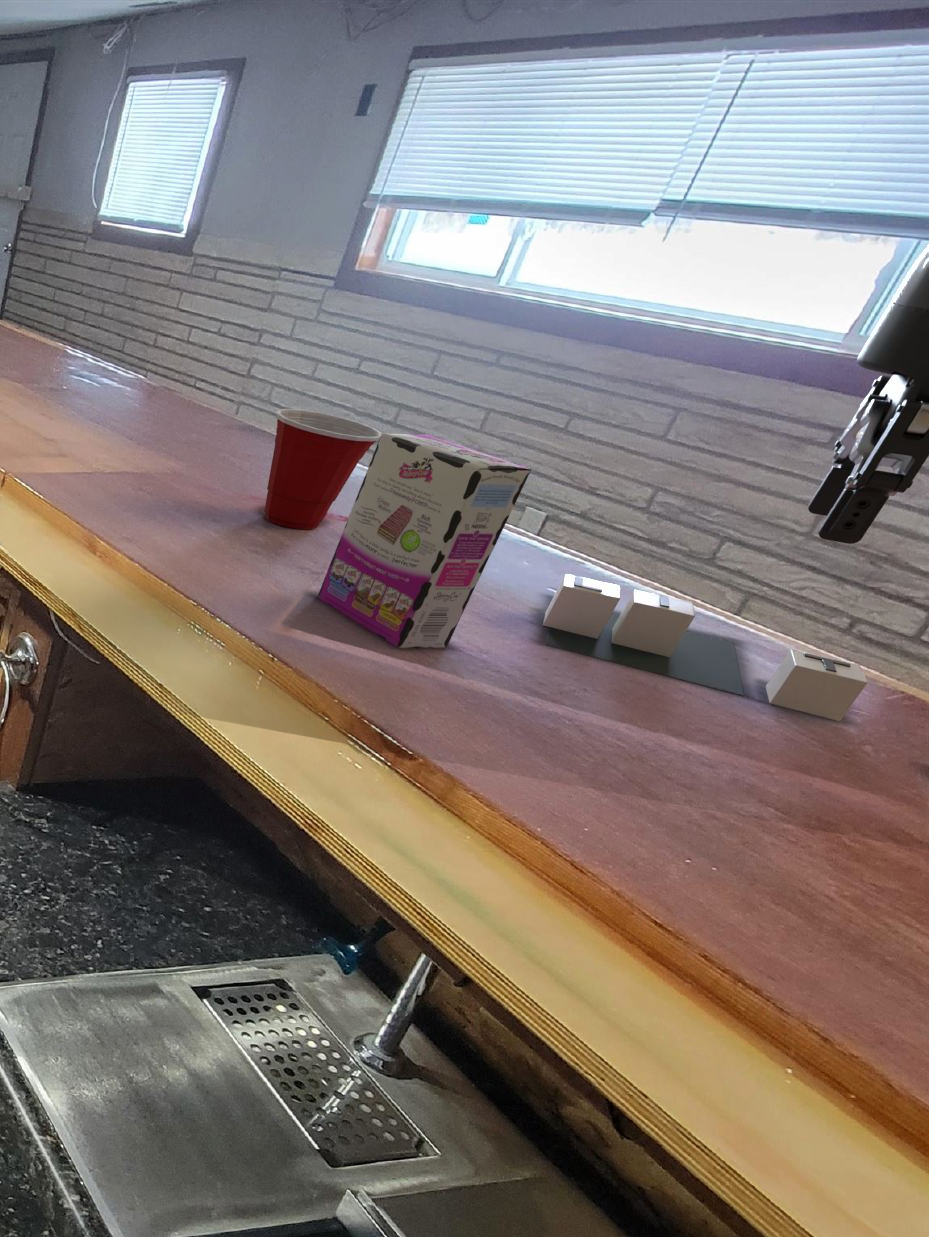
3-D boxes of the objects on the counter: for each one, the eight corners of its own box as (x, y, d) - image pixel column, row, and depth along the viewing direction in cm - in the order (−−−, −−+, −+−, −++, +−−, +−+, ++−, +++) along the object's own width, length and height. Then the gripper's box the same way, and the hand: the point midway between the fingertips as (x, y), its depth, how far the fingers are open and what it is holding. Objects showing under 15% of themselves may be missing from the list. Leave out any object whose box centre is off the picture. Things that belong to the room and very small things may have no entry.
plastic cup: (355, 543, 109) (398, 436, 103) (249, 529, 112) (285, 424, 106) (333, 514, 118) (372, 414, 112) (236, 501, 121) (268, 403, 115)
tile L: (599, 625, 90) (621, 584, 88) (597, 639, 87) (621, 597, 85) (545, 612, 92) (566, 572, 90) (542, 625, 90) (564, 584, 88)
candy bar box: (448, 653, 85) (537, 468, 77) (396, 653, 85) (480, 468, 76) (359, 600, 95) (429, 431, 87) (312, 600, 94) (378, 430, 86)
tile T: (829, 708, 79) (861, 664, 77) (835, 727, 76) (869, 681, 74) (761, 691, 81) (791, 647, 79) (765, 709, 78) (796, 663, 76)
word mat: (730, 647, 89) (734, 641, 88) (740, 702, 79) (744, 696, 79) (552, 604, 96) (555, 599, 95) (542, 650, 86) (545, 644, 86)
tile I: (668, 643, 87) (694, 601, 85) (669, 657, 85) (695, 614, 83) (612, 629, 90) (635, 588, 88) (611, 642, 87) (635, 600, 85)
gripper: (1084, 321, 61) (914, 564, 69) (1030, 301, 70) (886, 517, 78) (909, 306, 65) (768, 537, 73) (880, 290, 74) (758, 495, 82)
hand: (829, 526), depth 76 cm, fingers open, 8 cm apart
